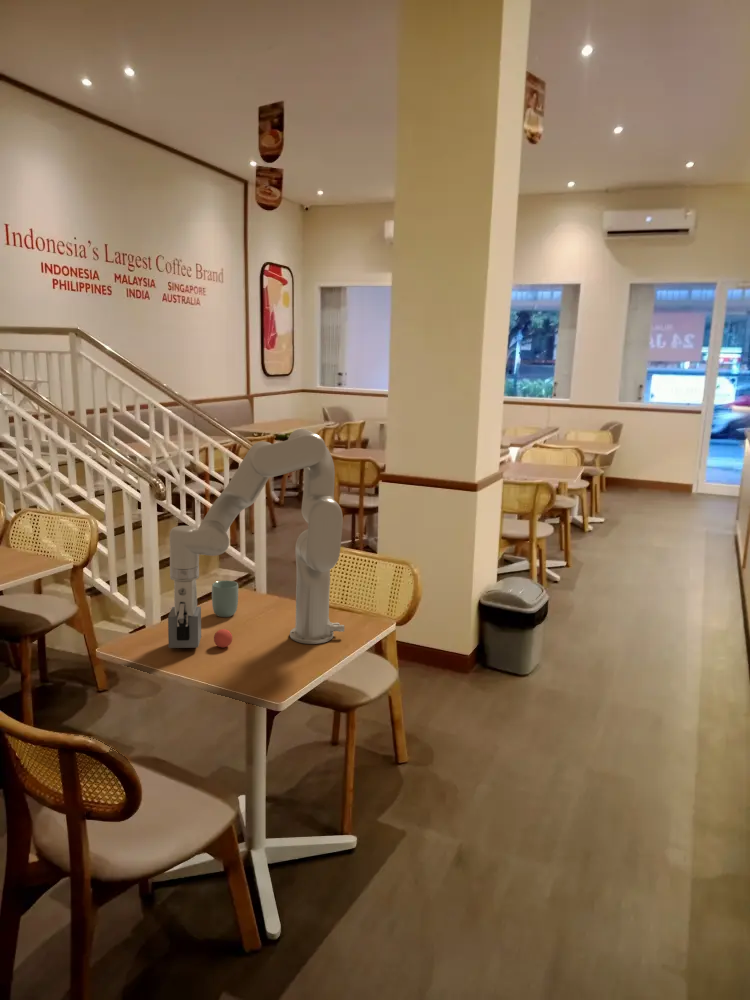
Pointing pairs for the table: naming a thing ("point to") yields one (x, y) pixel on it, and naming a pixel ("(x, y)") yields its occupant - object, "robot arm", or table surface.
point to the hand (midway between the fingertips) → (185, 633)
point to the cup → (225, 598)
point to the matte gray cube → (194, 630)
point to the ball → (223, 638)
